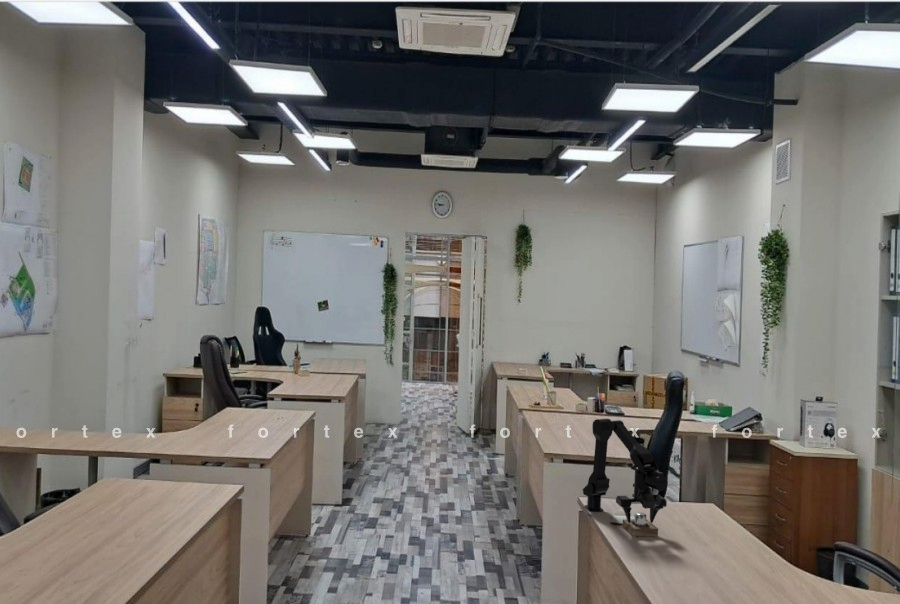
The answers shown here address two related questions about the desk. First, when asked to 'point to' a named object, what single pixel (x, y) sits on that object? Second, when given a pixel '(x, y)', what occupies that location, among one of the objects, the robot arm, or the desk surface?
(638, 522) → the metal cylinder
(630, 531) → the frame
